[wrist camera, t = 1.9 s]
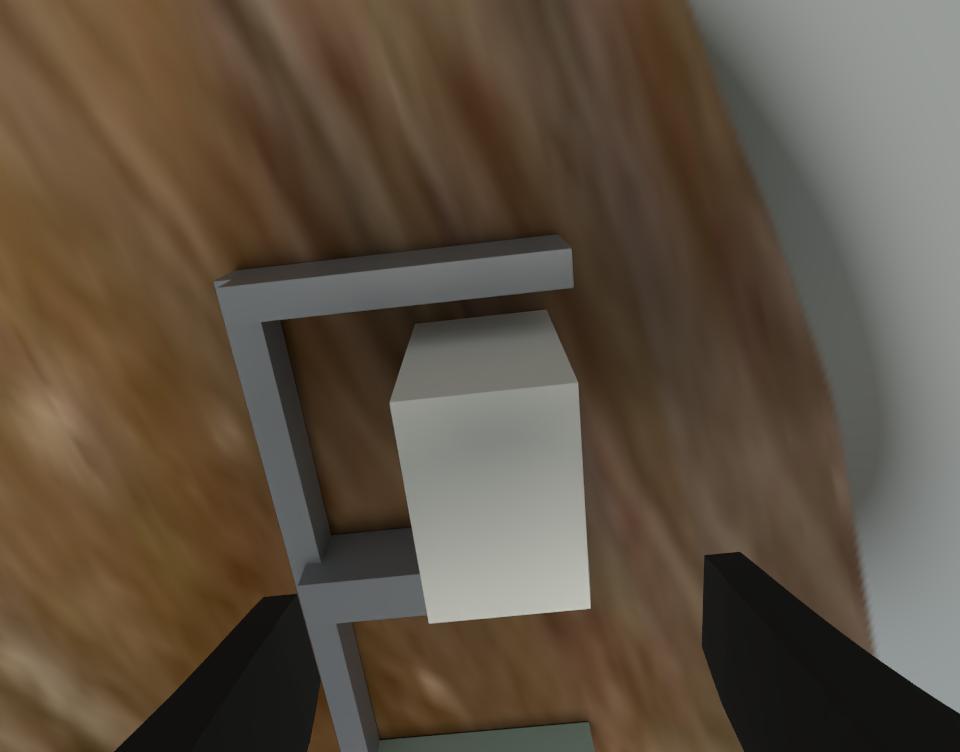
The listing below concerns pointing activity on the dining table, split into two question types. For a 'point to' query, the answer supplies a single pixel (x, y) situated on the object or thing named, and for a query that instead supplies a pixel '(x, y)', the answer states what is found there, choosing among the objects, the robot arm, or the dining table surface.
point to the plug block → (493, 467)
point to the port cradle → (293, 479)
